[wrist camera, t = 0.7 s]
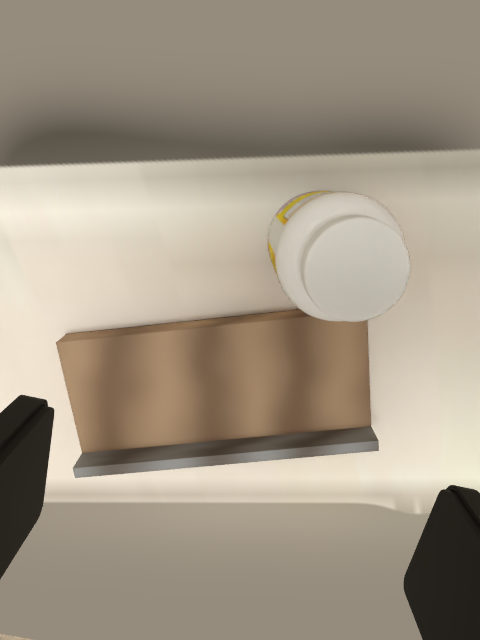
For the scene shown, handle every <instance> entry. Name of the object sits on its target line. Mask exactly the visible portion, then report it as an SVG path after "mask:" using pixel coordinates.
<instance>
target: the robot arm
mask: <svg viewBox="0 0 480 640" xmlns="http://www.w3.org/2000/svg"><path fill="white" fill-rule="evenodd" d="M53 420H54V409H53V408H52V407H48V403H47V401H46V400H44V399H40V398H35V397H30V396H25V395H20V396H18V397H17V398H16V399H15V400H14V401H13V402H12V403H11V404H10V405H9V406H7V407H6V408H5V409H4V410H3V411H2V412H1V413H0V579H1V577H2V576H3V574H4V573H5V571H6V569H7V568H8V566H9V564H10V563H11V561H12V560H13V558H14V557H15V555H16V553H17V552H18V550H19V548H20V547H21V545H22V544H23V542H24V541H25V539H26V538H27V536H28V534H29V533H30V531H31V530H32V528H33V526H34V524H35V523H36V522H37V520H38V518H39V516H40V513H41V510H42V506H43V501H44V493H45V485H46V477H47V469H48V460H49V452H50V444H51V436H52V428H53ZM404 591H405V594H406V597H407V600H408V602H409V605H410V608H411V610H412V613H413V615H414V618H415V621H416V623H417V626H418V628H419V631H420V633H421V636H422V639H423V640H480V493H479V492H478V491H477V490H474V489H469V488H464V487H460V486H455V485H451V486H449V487H448V488H447V489H446V490H441V491H440V492H439V494H438V496H437V499H436V501H435V504H434V506H433V509H432V511H431V513H430V516H429V518H428V521H427V523H426V525H425V528H424V530H423V533H422V535H421V538H420V540H419V543H418V545H417V548H416V550H415V552H414V555H413V557H412V560H411V562H410V564H409V567H408V569H407V572H406V574H405V577H404ZM0 640H33V639H27V638H21V637H15V636H9V635H3V634H0Z"/></svg>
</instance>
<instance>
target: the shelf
mask: <svg viewBox="0 0 480 640" xmlns="http://www.w3.org/2000/svg"><path fill="white" fill-rule="evenodd" d="M56 345H57V349H58V353H59V357H60V362H61V366H62V370H63V374H64V378H65V383H66V387H67V391H68V395H69V399H70V404H71V408H72V412H73V416H74V420H75V425H76V429H77V433H78V437H79V441H80V446H81V450H82V454H81V456H80V458H79V459H78V461H77V462H76V464H75V466H74V467H73V471H74V475H75V478H80V477H91V476H102V475H113V474H125V473H136V472H147V471H158V470H169V469H180V468H191V467H202V466H214V465H225V464H236V463H247V462H258V461H269V460H280V459H291V458H302V457H314V456H325V455H336V454H347V453H358V452H369V451H379V445H378V439H377V437H376V435H375V433H374V431H373V429H372V427H371V413H370V385H369V357H368V328H367V320H365V321H359V322H348V321H327V320H322V319H319V318H315V317H313V316H311V315H308V314H307V313H305V312H303V311H302V310H292V311H282V312H272V313H263V314H253V315H244V316H234V317H224V318H215V319H205V320H196V321H186V322H176V323H167V324H157V325H148V326H138V327H128V328H119V329H109V330H100V331H90V332H80V333H71V334H66V335H65V336H64V337H62V338H61V339H60V340H59V341H57V342H56Z"/></svg>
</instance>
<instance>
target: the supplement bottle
mask: <svg viewBox="0 0 480 640" xmlns="http://www.w3.org/2000/svg"><path fill="white" fill-rule="evenodd" d="M268 250H269V255H270V258H271V261H272V263H273V266H274V268H275V271H276V274H277V276H278V279H279V282H280V284H281V286H282V288H283V290H284V292H285V293H286V295H287V296H288V298H289V299H290V300H291V301H292V302H293V303H294V305H296V306H297V307H298V308H299V309H301V310H302V311H303V312H305V313H307V314H308V315H311V316H313V317H315V318H319V319H322V320H327V321H348V322H359V321H365V320H369V319H372V318H375V317H377V316H379V315H381V314H383V313H384V312H386V311H387V310H389V309H390V308H391V307H392V306H393V305H394V304H395V303H396V302H397V301H398V300H399V298H400V297H401V295H402V294H403V292H404V290H405V288H406V285H407V282H408V279H409V274H410V258H409V253H408V250H407V247H406V245H405V240H404V236H403V233H402V230H401V228H400V226H399V224H398V222H397V221H396V219H395V218H394V216H393V215H392V214H391V213H390V212H389V211H388V210H387V209H386V208H385V207H384V206H383V205H381V204H380V203H379V202H377V201H375V200H373V199H371V198H369V197H366V196H363V195H360V194H356V193H350V192H331V191H314V192H308V193H305V194H302V195H299V196H297V197H295V198H293V199H291V200H290V201H288V202H287V203H286V204H285V205H284V206H283V207H282V208H281V209H280V210H279V211H278V213H277V214H276V215H275V217H274V219H273V221H272V223H271V226H270V229H269V234H268Z"/></svg>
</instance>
